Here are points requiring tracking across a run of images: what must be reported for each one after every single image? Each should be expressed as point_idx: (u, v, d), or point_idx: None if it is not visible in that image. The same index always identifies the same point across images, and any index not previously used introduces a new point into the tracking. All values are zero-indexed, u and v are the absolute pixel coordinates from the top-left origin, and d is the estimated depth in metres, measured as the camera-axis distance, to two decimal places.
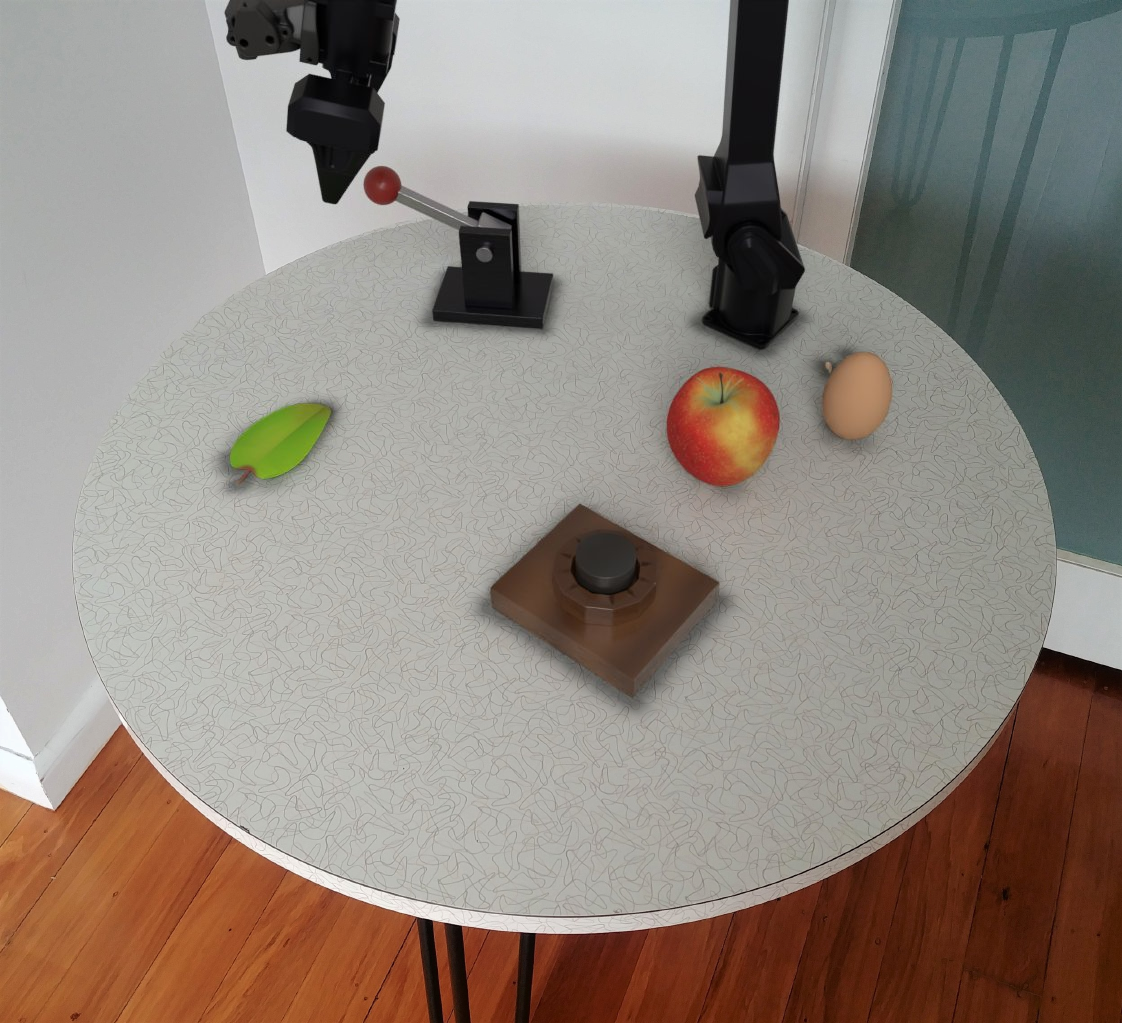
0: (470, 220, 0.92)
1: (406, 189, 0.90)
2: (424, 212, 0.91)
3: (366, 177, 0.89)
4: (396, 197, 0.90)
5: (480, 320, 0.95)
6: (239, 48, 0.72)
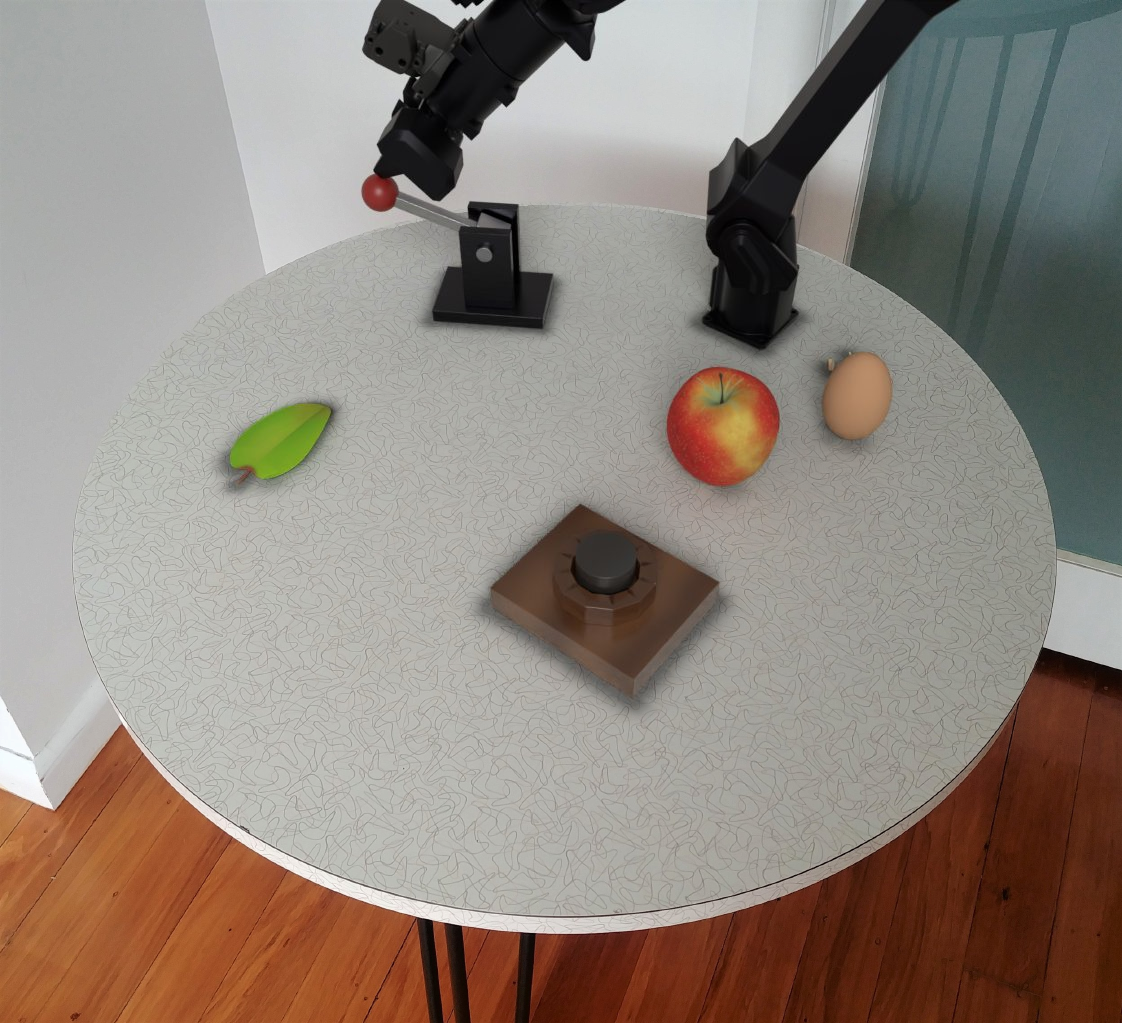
0: (469, 221, 0.92)
1: (404, 194, 0.91)
2: (423, 216, 0.91)
3: (363, 185, 0.90)
4: (394, 203, 0.90)
5: (480, 320, 0.95)
6: (372, 52, 0.77)
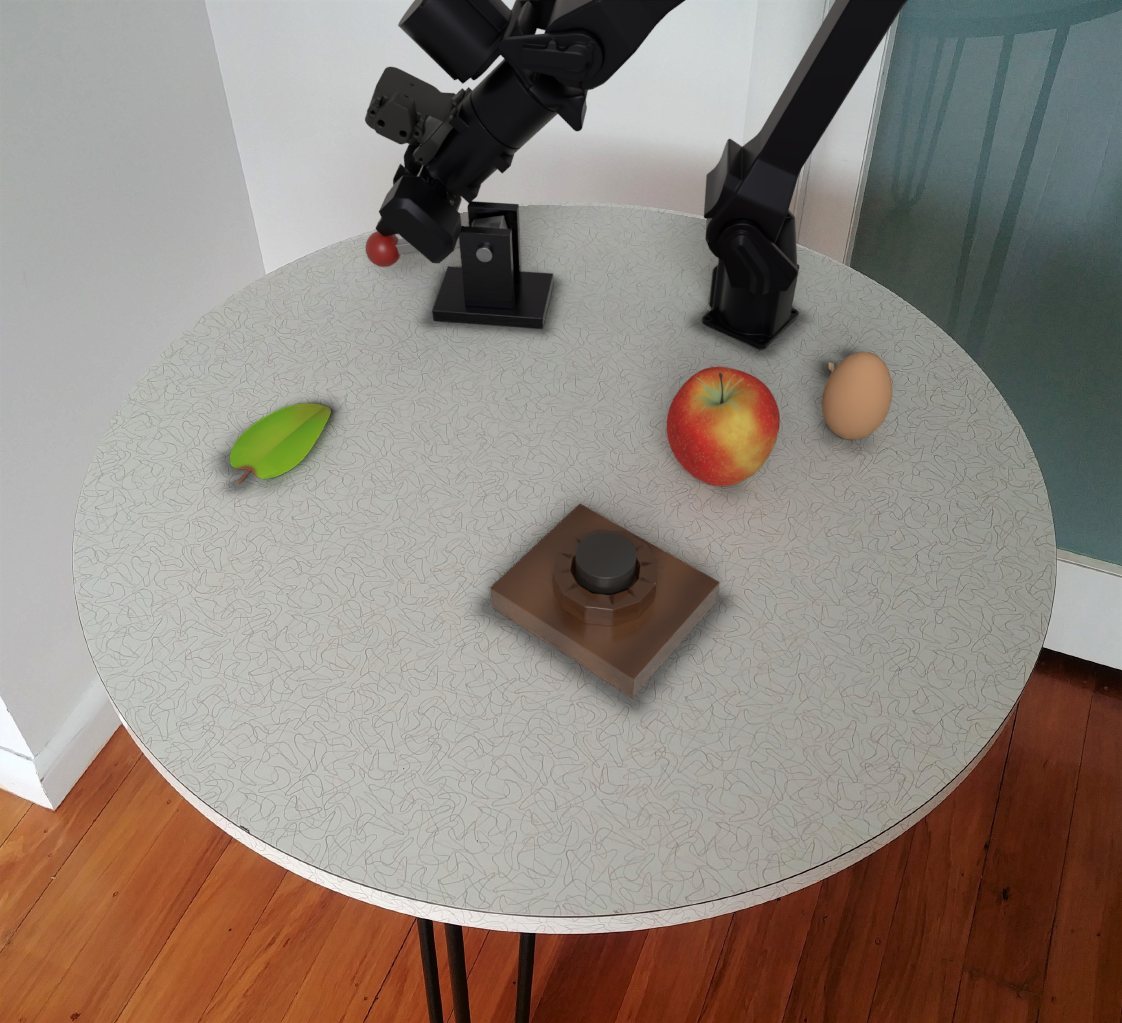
0: None
1: (402, 239, 0.94)
2: None
3: None
4: (396, 251, 0.94)
5: (480, 320, 0.95)
6: (375, 124, 0.81)
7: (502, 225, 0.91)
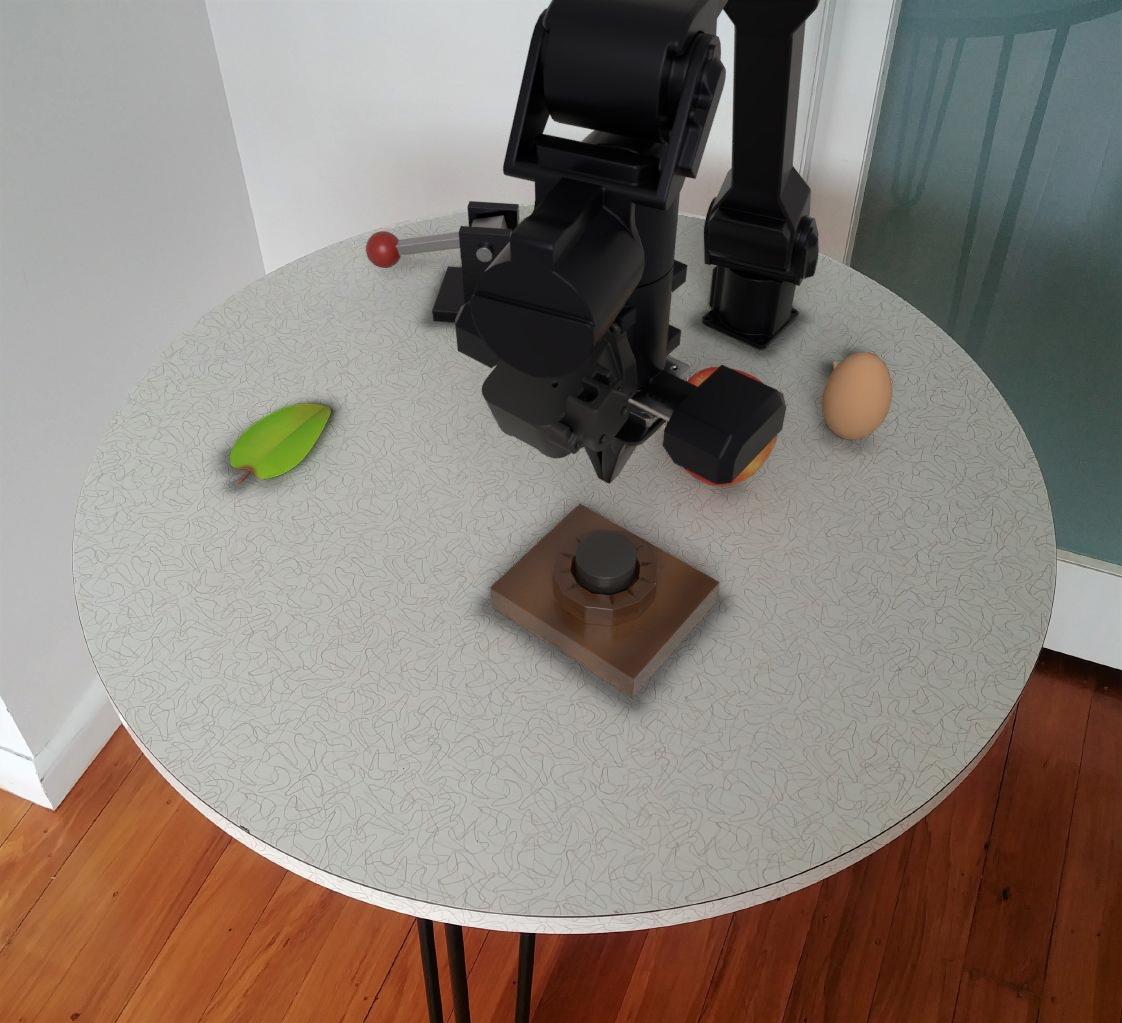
0: None
1: (403, 240, 0.94)
2: (426, 250, 0.94)
3: (366, 250, 0.95)
4: (397, 252, 0.94)
5: None
6: (598, 448, 0.51)
7: (501, 225, 0.91)
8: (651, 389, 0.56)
